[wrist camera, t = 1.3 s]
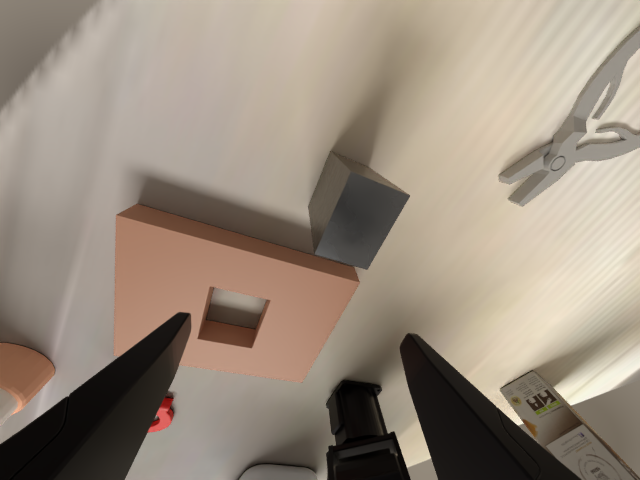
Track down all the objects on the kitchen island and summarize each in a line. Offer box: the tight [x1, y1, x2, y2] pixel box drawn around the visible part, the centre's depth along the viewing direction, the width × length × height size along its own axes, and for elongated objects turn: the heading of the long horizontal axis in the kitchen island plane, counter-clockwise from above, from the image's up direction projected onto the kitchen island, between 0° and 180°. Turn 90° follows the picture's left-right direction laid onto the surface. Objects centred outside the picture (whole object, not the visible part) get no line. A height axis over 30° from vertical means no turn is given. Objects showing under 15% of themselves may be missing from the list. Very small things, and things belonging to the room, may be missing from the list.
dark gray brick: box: [308, 151, 410, 269], centre depth 16 cm, size 4×5×8 cm
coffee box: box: [500, 371, 640, 480], centre depth 32 cm, size 9×6×16 cm
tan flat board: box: [114, 204, 360, 383], centre depth 23 cm, size 20×16×2 cm
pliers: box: [498, 26, 640, 206], centre depth 19 cm, size 10×2×15 cm
